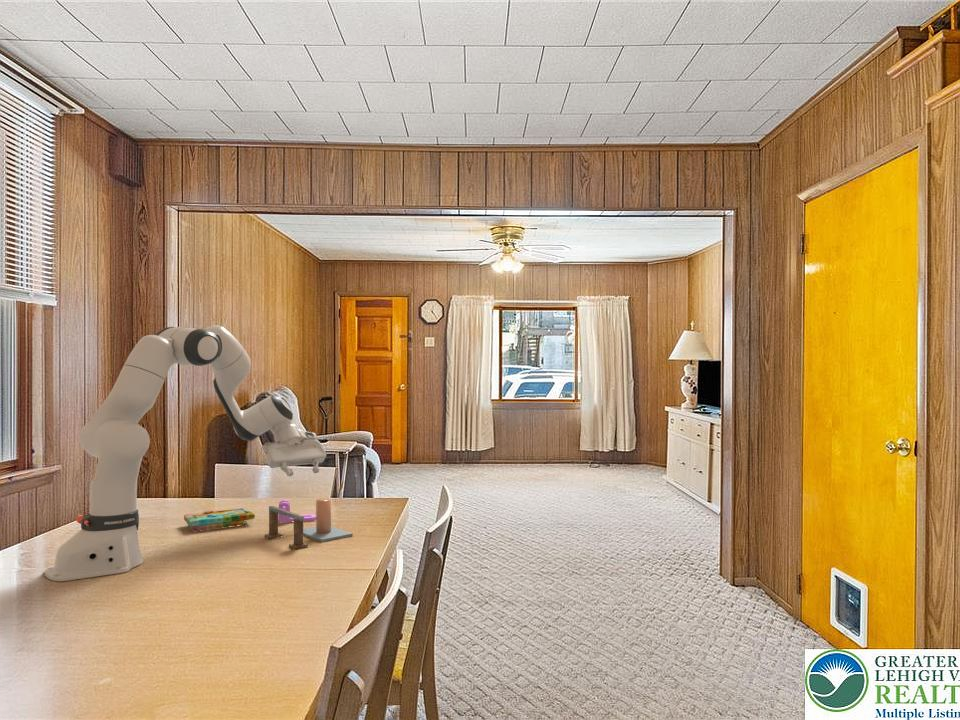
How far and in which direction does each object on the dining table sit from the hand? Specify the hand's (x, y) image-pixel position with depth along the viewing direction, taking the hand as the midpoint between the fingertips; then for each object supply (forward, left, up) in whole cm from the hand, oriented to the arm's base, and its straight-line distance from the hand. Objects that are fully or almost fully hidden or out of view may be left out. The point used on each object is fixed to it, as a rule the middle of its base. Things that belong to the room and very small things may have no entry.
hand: (303, 473), depth 224 cm
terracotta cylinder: (0, -12, -17) cm, 21 cm away
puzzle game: (-19, +22, -18) cm, 34 cm away
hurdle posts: (-13, -12, -18) cm, 25 cm away
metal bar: (-13, -12, -10) cm, 20 cm away
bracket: (+4, +11, -18) cm, 22 cm away
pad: (0, -12, -18) cm, 22 cm away
